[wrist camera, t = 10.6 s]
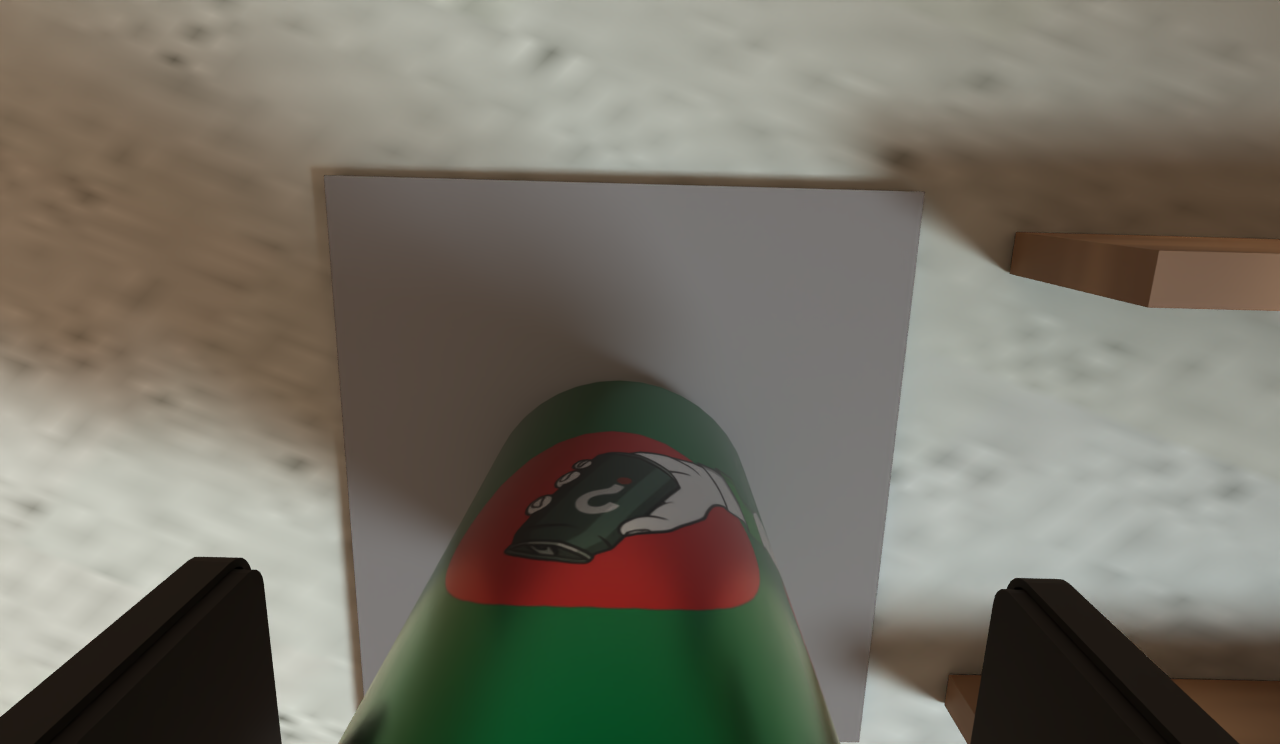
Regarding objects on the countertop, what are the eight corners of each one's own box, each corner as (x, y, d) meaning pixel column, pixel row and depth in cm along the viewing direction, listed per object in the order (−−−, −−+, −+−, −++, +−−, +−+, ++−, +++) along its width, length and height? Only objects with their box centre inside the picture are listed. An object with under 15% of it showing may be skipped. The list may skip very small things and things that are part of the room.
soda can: (444, 464, 15) (-284, 1467, 3) (650, 321, 14) (672, 948, 2) (592, 645, 16) (448, 1917, 4) (792, 521, 15) (1287, 1640, 3)
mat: (916, 191, 14) (924, 192, 14) (853, 729, 17) (858, 742, 17) (332, 175, 14) (323, 175, 13) (373, 720, 17) (366, 732, 16)
